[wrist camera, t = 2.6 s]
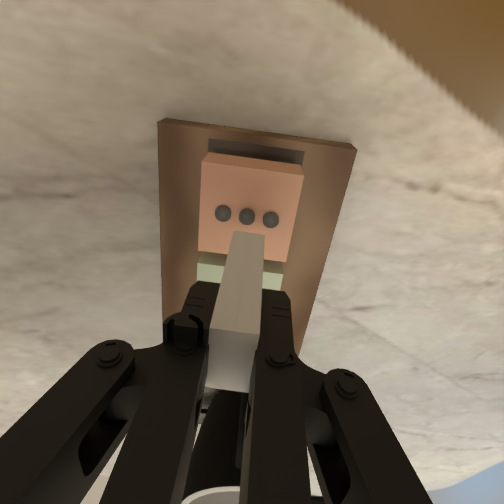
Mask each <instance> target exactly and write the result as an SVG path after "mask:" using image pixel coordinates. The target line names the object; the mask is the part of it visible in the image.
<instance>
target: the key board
mask: <svg viewBox="0 0 504 504" xmlns="http://www.w3.org/2000/svg"><path fill="white" fill-rule="evenodd" d="M157 126H158V164H159V202H160V240H161V278H162V316H163V322H164V321H165V320H166V318H167V317H169V316H171V315H172V314H174V313H178V312H181V310H182V307H183V305H184V302H185V299H186V298H187V294H188V292H189V289H190V287H191V286H192V285H193V284H195V283H196V282H197V263H198V260H199V257H200V255H201V252H202V251H198V236H199V213H200V189H201V166H202V160H203V159H204V158H205V156H206V155H207V154H208V152H211V153H218V154H226V155H233V156H240V157H247V158H255V159H262V160H269V161H276V162H283V163H291V164H298V165H301V167H302V170H303V173H304V179H303V184H302V189H301V193H300V198H299V203H298V207H297V212H296V217H295V222H294V226H293V231H292V236H291V241H290V245H289V250H288V255H287V260H286V262H283V278H282V283H281V288H280V291H285V292H286V294H287V295H288V297H289V298H290V300H291V312H292V325H293V339H294V349H295V353H296V354H297V356H299V352H300V349H301V345H302V342H303V338H304V335H305V331H306V328H307V324H308V321H309V317H310V314H311V310H312V307H313V303H314V300H315V296H316V293H317V289H318V286H319V282H320V279H321V275H322V272H323V269H324V265H325V262H326V258H327V255H328V251H329V248H330V244H331V241H332V237H333V234H334V230H335V227H336V223H337V220H338V216H339V213H340V209H341V206H342V202H343V199H344V195H345V192H346V188H347V185H348V181H349V178H350V174H351V171H352V167H353V164H354V160H355V157H356V153H357V149H356V148H355V147H354V146H353V145H352V144H347V143H340V142H333V141H326V140H318V139H311V138H304V137H297V136H290V135H283V134H276V133H268V132H261V131H254V130H247V129H240V128H233V127H226V126H218V125H211V124H204V123H197V122H190V121H183V120H176V119H168V118H165V119H163V120H161V121H158V122H157Z"/></svg>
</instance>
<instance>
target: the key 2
mask: <svg viewBox="0 0 504 504" xmlns="http://www.w3.org/2000/svg"><path fill="white" fill-rule="evenodd" d="M227 256H228V255H227V254H220V253H212V252H205V251H202V252H201V255H200V257H199V260H198V263H197V281H198V280H199V281H207V282H214V283H221V280H222V276H223V272H224V268H225V264H226V260H227ZM282 278H283V262H280V261H273V260H265V259H264V262H263V281H262V288H264V289H271V290H279V291H280V288H281V283H282Z"/></svg>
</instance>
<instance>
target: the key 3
mask: <svg viewBox="0 0 504 504" xmlns="http://www.w3.org/2000/svg"><path fill="white" fill-rule="evenodd" d="M303 179H304V173H303V170H302V167H301V165H298V164H291V163H283V162H276V161H269V160H262V159H255V158H247V157H240V156H233V155H226V154H218V153H211V152H208V154H207V155H206V156H205V158H204V159H203V160H202V166H201V189H200V213H199V236H198V251H205V252H212V253H220V254H227V255H228V252H229V248H230V244H231V240H232V236H233V232H234V230H235V231H242V232H250V233H257V234H264V235H265V243H264V259H265V260H273V261H280V262H286V260H287V255H288V250H289V245H290V241H291V236H292V231H293V226H294V222H295V217H296V212H297V207H298V203H299V198H300V193H301V189H302V184H303Z"/></svg>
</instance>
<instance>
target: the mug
mask: <svg viewBox="0 0 504 504" xmlns="http://www.w3.org/2000/svg"><path fill="white" fill-rule="evenodd" d="M248 398H249V393H246V392H238V391H231V390H221V391H220V392H219V393H218V394H217V395H216V396H215V398H214V399H213V401H212V403H211V404H210V406H209V408H208V409H201V412H200V417H199V422H198V424H202V425H201V428H200V431H199V434H198V437H197V440H196V442H195V445H194V448H193V451H192V455H191V460H190V465H189V469H188V474H187V479H186V484H185V488H184V493H183V498H182V503H181V504H239V494H240V482H241V469H242V457H243V445H244V433H245V423H244V419H245V414H246V409H247V404H248ZM311 502H312V504H325V502H324V499H323V496H315V495H311Z"/></svg>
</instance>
